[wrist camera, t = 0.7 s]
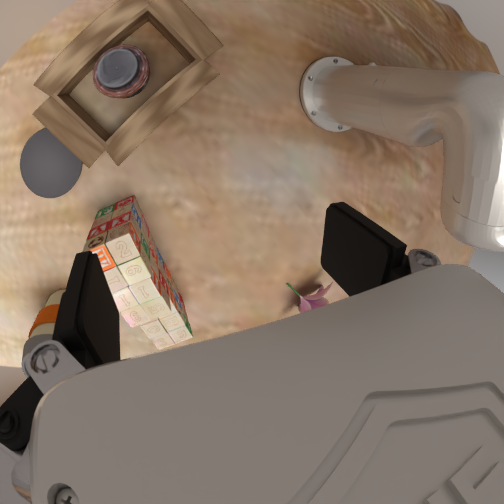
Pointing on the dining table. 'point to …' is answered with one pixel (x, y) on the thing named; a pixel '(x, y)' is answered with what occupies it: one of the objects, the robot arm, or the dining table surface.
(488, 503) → the robot arm
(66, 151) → the coaster
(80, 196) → the dining table surface
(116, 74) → the supplement bottle
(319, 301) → the lily
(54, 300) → the reusable coffee cup
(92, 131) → the carton
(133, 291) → the stack of blocks
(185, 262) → the dining table surface
